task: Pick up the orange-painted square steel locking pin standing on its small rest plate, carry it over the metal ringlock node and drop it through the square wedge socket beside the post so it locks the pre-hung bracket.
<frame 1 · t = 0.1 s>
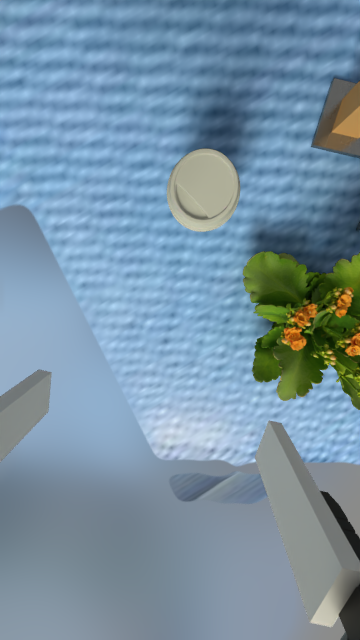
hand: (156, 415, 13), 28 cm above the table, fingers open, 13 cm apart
wedge pin: (350, 119, 32), point 1 cm above the table, touching rest plate
potted flower: (310, 313, 40), on the table
rest plate: (347, 121, 32), on the table
coffee cup: (199, 212, 36), on the table
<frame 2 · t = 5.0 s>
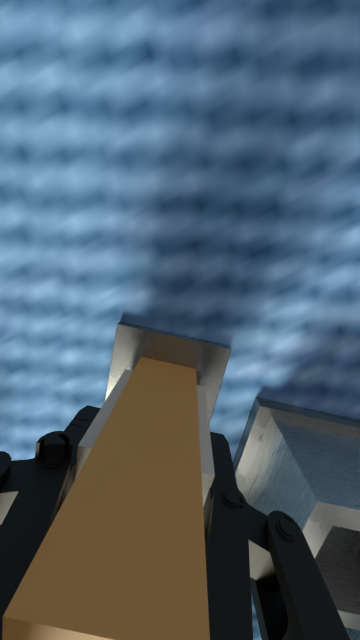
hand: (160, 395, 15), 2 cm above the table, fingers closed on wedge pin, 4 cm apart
wedge pin: (162, 387, 16), point 1 cm above the table, touching gripper, rest plate
ringlock node: (312, 487, 19), on the table
rest plate: (163, 383, 17), on the table
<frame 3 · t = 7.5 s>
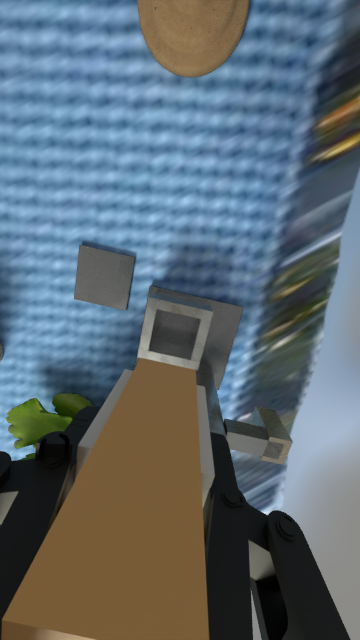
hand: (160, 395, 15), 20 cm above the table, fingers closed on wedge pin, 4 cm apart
wedge pin: (162, 388, 16), point 19 cm above the table, touching gripper
potted flower: (112, 436, 41), on the table
ringlock node: (186, 338, 35), on the table
candle holder: (192, 15, 26), on the table
rest plate: (104, 278, 34), on the table
when the fingers open (9 cm above the table, at t = 10.1 s): wedge pin drops 7 cm, resting on ringlock node.
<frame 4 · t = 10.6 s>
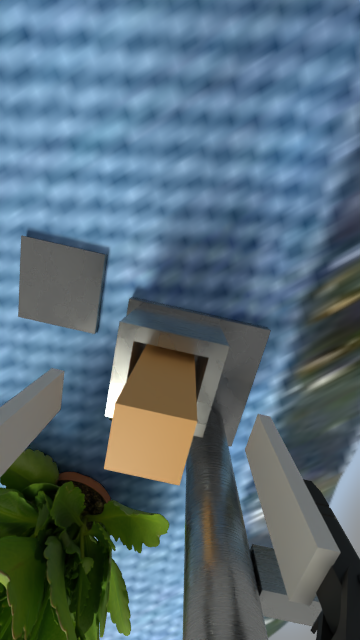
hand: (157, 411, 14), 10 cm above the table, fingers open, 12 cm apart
wedge pin: (169, 352, 23), point 1 cm above the table, touching ringlock node
potted flower: (83, 500, 30), on the table
ringlock node: (184, 373, 24), on the table
rest plate: (63, 286, 23), on the table
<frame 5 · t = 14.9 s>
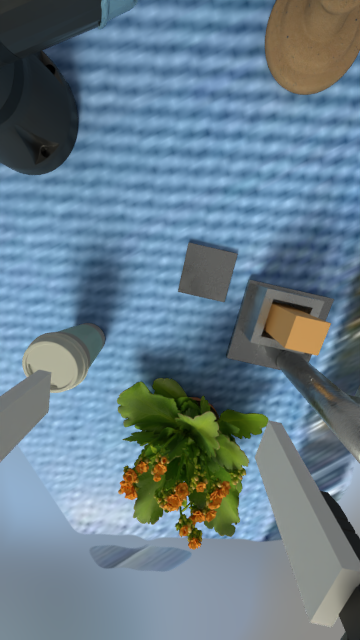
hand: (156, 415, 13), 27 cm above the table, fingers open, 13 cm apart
wedge pin: (271, 313, 37), point 1 cm above the table, touching ringlock node
potted flower: (196, 419, 45), on the table
ringlock node: (275, 328, 39), on the table
candle holder: (310, 40, 29), on the table
rest plate: (206, 273, 37), on the table
coffee cup: (90, 337, 41), on the table
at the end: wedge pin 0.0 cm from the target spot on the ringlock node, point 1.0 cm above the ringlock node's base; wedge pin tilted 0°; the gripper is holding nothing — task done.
